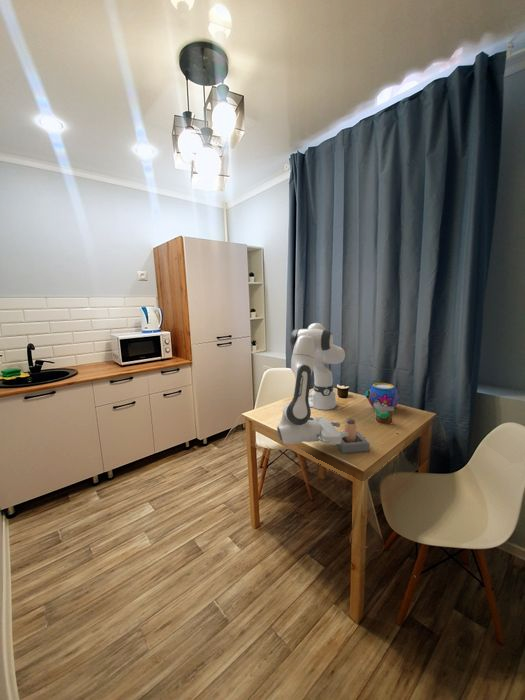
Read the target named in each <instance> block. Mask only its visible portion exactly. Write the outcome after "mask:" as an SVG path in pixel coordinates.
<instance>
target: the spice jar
mask: <svg viewBox="0 0 525 700" xmlns="http://www.w3.org/2000/svg"><path fill="white" fill-rule="evenodd" d="M344 431H347V432H348V436H345V443H349V442H356V431H357V421H356V419H355V418H352V417H351V418H350V417H348V418H346V420H345V421H344Z"/></svg>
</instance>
